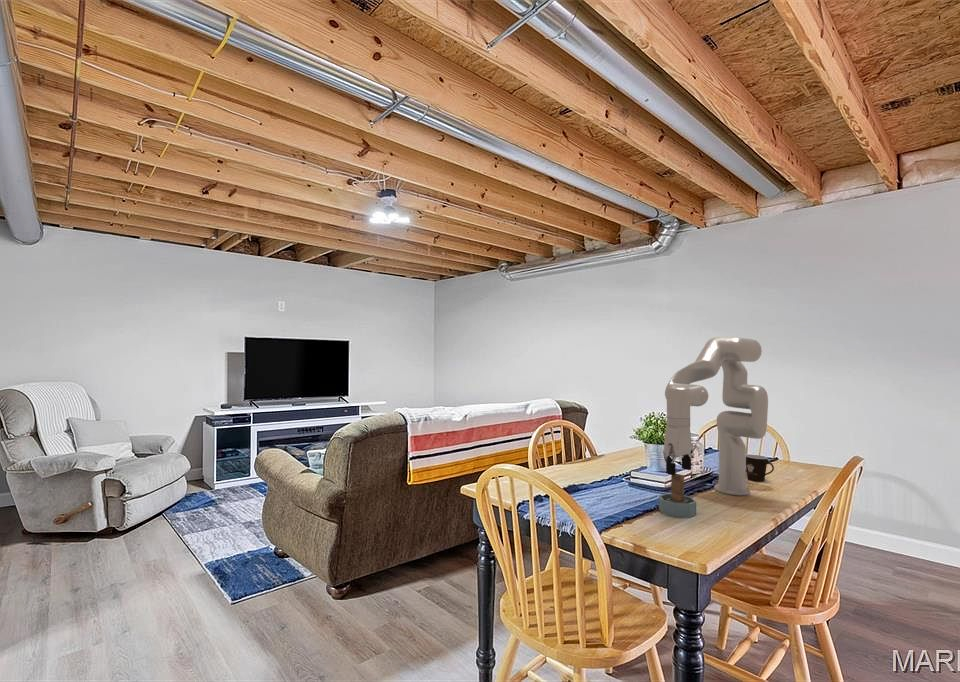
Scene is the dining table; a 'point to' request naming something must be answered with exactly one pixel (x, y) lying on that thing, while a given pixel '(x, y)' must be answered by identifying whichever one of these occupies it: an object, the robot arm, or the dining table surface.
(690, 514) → the octagonal socket dish
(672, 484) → the wood grain block
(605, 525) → the dining table surface
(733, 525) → the dining table surface
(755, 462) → the coffee mug
